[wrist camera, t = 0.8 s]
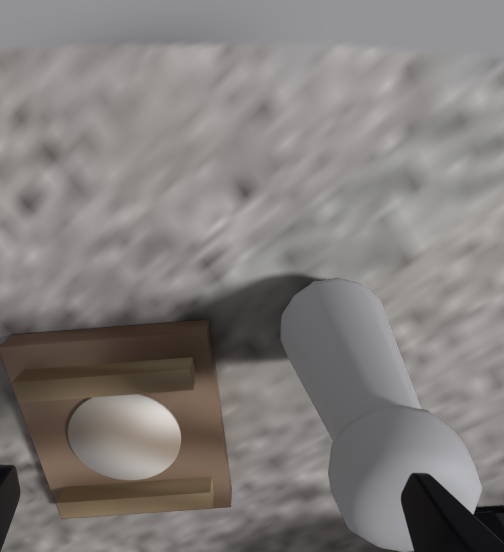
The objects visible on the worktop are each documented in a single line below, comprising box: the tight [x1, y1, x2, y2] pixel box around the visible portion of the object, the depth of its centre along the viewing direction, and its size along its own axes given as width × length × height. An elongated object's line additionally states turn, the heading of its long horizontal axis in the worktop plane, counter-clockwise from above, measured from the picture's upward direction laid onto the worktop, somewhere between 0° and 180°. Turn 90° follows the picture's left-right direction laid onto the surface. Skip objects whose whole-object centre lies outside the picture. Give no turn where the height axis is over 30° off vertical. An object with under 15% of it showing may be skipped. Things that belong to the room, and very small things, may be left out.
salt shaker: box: [280, 278, 482, 552], centre depth 16 cm, size 6×6×13 cm
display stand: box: [0, 319, 232, 519], centre depth 24 cm, size 14×12×3 cm
